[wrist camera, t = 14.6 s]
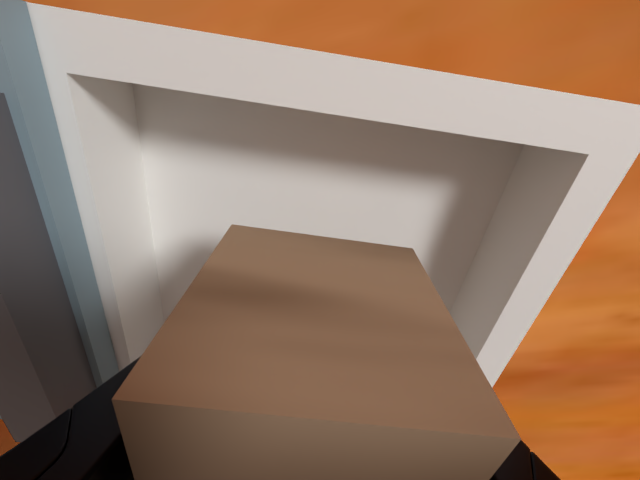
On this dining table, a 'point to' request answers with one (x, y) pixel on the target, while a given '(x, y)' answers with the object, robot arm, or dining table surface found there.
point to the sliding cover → (41, 251)
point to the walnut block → (310, 372)
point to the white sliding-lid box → (321, 167)
